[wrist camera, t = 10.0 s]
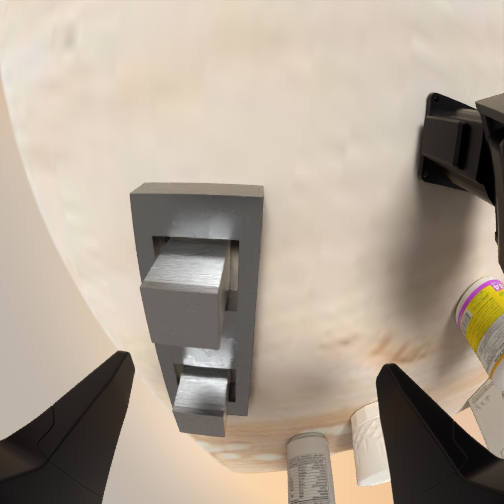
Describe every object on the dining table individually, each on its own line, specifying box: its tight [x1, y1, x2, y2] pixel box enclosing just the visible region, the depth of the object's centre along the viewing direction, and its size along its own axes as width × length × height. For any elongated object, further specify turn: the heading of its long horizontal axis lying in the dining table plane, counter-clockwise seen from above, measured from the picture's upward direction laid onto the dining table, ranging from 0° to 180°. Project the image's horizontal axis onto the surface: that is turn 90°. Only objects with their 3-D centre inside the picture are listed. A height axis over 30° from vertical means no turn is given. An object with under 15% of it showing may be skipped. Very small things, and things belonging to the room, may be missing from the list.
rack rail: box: [130, 183, 263, 416], centre depth 22 cm, size 8×23×2 cm, turn 177°
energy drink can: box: [287, 433, 335, 504], centre depth 28 cm, size 6×6×15 cm
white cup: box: [351, 401, 391, 486], centre depth 27 cm, size 8×8×10 cm
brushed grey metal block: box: [173, 365, 231, 437], centre depth 23 cm, size 4×4×7 cm
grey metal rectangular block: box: [140, 237, 231, 350], centre depth 18 cm, size 4×4×7 cm
